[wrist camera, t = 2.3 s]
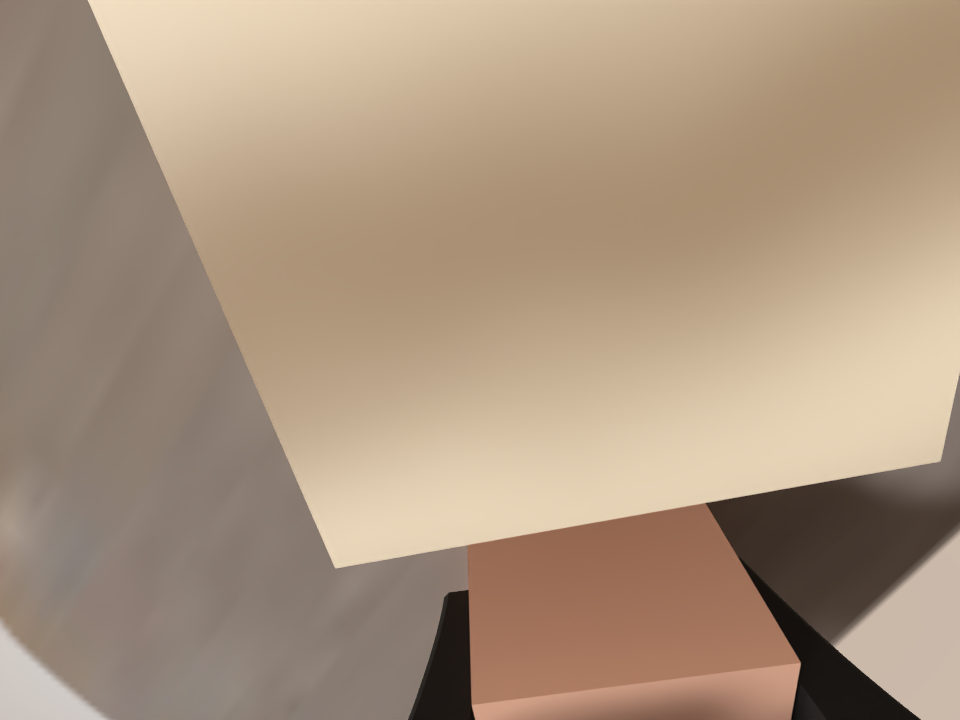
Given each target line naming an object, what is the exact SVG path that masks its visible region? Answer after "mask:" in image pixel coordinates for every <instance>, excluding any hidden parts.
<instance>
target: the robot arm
mask: <svg viewBox="0 0 960 720" xmlns="http://www.w3.org/2000/svg"><path fill="white" fill-rule="evenodd" d="M737 557H738V556H737ZM738 558H739V560H740V562H741V563H742V565H743V567H744V568H745V570H746V572H747V573H748V575H749V577H750V579H751V580H752V582H753V584H754V585H755V587H756V589H757V590H758V592H759V594H760V595H761V597H762V599H763V600H764V602H765V604H766V605H767V607H768V609H769V610H770V612H771V614H772V615H773V617H774V619H775V620H776V622H777V624H778V625H779V627H780V629H781V630H782V632H783V634H784V635H785V637H786V639H787V640H788V642H789V644H790V645H791V647H792V649H793V650H794V652H795V654H796V655H797V657H798V659H799V660H800V662H801V665H800V671H799V676H798V682H797V688H796V693H795V699H794V705H793V710H792V716H791V720H921V719H919V718H918V717H917V716H916V715H914V714H913V713H912V712H910V711H909V710H908V709H907V708H905V707H904V706H903V705H902V704H900V703H899V702H898V701H897V700H895V699H894V698H893V697H892V696H890V695H889V694H888V693H887V692H886V691H884V690H883V689H882V688H881V687H880V686H878V685H877V684H876V683H875V682H874V681H872V680H871V679H870V678H869V677H868V676H866V675H865V674H864V673H863V672H861V670H859V669H858V668H857V667H856V666H855V665H854V664H852V663H851V662H850V661H849V660H848V659H847V658H845V657H844V656H843V655H842V654H841V653H840V652H839V651H838V650H836V649H835V648H834V647H833V646H832V645H831V644H830V643H829V642H828V641H826V640H825V639H824V638H823V637H822V636H821V635H820V634H819V633H818V632H816V631H815V630H814V629H813V628H812V627H811V626H810V625H809V624H808V623H807V622H806V621H804V620H803V619H802V618H801V617H800V616H799V615H798V614H797V613H796V612H795V611H794V610H793V609H792V608H791V607H790V606H789V605H788V604H787V603H785V602H784V601H783V600H782V599H781V598H780V597H779V596H778V595H777V594H776V593H775V592H774V591H773V590H772V589H771V588H770V587H769V586H768V585H767V584H766V583H765V582H764V581H763V580H762V579H761V578H760V577H759V576H758V575H757V574H756V573H755V572H754V571H753V570H752V569H751V568H750V567H749V566H748V565H747V564H746V563H745V562H744V561H743V560H742V559H741V558H740V557H738ZM408 720H475V717H474V713H473V708H472V699H471V659H470V620H469V590H465V591H458V592H450V593H448V594H447V595H446V596H445V597H444V602H443V608H442V613H441V617H440V622H439V626H438V630H437V634H436V637H435V641H434V644H433V648H432V651H431V655H430V658H429V661H428V664H427V667H426V670H425V673H424V676H423V679H422V682H421V685H420V688H419V691H418V694H417V697H416V700H415V703H414V706H413V708H412V711H411V714H410V716H409V719H408Z"/></svg>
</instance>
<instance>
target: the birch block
mask: <svg viewBox="0 0 960 720" xmlns="http://www.w3.org/2000/svg"><path fill="white" fill-rule="evenodd" d="M88 1H89V4H90V6H91V8H92V10H93V13H94V15H95V17H96V20H97V22H98V24H99V26H100V29H101V31H102V33H103V36H104V38H105V40H106V43H107V45H108V47H109V49H110V52H111V54H112V56H113V59H114V61H115V63H116V66H117V68H118V70H119V72H120V75H121V77H122V79H123V82H124V84H125V86H126V89H127V91H128V93H129V95H130V98H131V100H132V102H133V105H134V107H135V109H136V112H137V114H138V116H139V118H140V121H141V123H142V125H143V128H144V130H145V132H146V134H147V137H148V139H149V141H150V144H151V146H152V148H153V151H154V153H155V155H156V157H157V160H158V162H159V164H160V167H161V169H162V171H163V174H164V176H165V178H166V180H167V183H168V185H169V187H170V190H171V192H172V194H173V197H174V199H175V201H176V203H177V206H178V208H179V210H180V213H181V215H182V217H183V219H184V222H185V224H186V226H187V229H188V231H189V233H190V236H191V238H192V240H193V242H194V245H195V247H196V249H197V252H198V254H199V256H200V259H201V261H202V263H203V265H204V268H205V270H206V272H207V275H208V277H209V279H210V282H211V284H212V286H213V288H214V291H215V293H216V295H217V298H218V300H219V302H220V304H221V307H222V309H223V311H224V314H225V316H226V318H227V321H228V323H229V325H230V327H231V330H232V332H233V334H234V337H235V339H236V341H237V344H238V346H239V348H240V350H241V353H242V355H243V357H244V360H245V362H246V364H247V367H248V369H249V371H250V373H251V376H252V378H253V380H254V383H255V385H256V387H257V390H258V392H259V394H260V396H261V399H262V401H263V403H264V406H265V408H266V410H267V412H268V415H269V417H270V419H271V422H272V424H273V426H274V429H275V431H276V433H277V435H278V438H279V440H280V442H281V445H282V447H283V449H284V452H285V454H286V456H287V458H288V461H289V463H290V465H291V468H292V470H293V472H294V475H295V477H296V479H297V481H298V484H299V486H300V488H301V491H302V493H303V495H304V497H305V500H306V502H307V504H308V507H309V509H310V511H311V514H312V516H313V518H314V520H315V523H316V525H317V527H318V530H319V532H320V534H321V537H322V539H323V541H324V543H325V546H326V548H327V550H328V553H329V555H330V557H331V560H332V562H333V564H334V566H335V568H340V567H346V566H352V565H357V564H363V563H369V562H374V561H380V560H386V559H391V558H397V557H403V556H408V555H414V554H420V553H425V552H431V551H437V550H442V549H448V548H453V547H459V546H465V545H470V544H476V543H482V542H487V541H493V540H499V539H504V538H510V537H516V536H521V535H527V534H533V533H538V532H544V531H550V530H555V529H561V528H567V527H572V526H578V525H584V524H589V523H595V522H600V521H606V520H612V519H617V518H623V517H629V516H634V515H640V514H646V513H651V512H657V511H663V510H668V509H674V508H680V507H685V506H691V505H697V504H702V503H708V502H714V501H719V500H725V499H731V498H736V497H742V496H747V495H753V494H759V493H764V492H770V491H776V490H781V489H787V488H793V487H798V486H804V485H810V484H815V483H821V482H827V481H832V480H838V479H844V478H849V477H855V476H861V475H866V474H872V473H878V472H883V471H889V470H894V469H900V468H906V467H911V466H917V465H923V464H928V463H934V462H940V461H941V456H942V452H943V447H944V442H945V438H946V433H947V428H948V424H949V419H950V414H951V410H952V405H953V401H954V396H955V391H956V387H957V382H958V377H959V373H960V0H88Z"/></svg>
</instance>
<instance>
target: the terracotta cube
mask: <svg viewBox="0 0 960 720" xmlns="http://www.w3.org/2000/svg"><path fill="white" fill-rule="evenodd" d="M468 580H469V620H470V659H471V699H472V708H473V713H474V717H475V720H791V716H792V710H793V705H794V699H795V693H796V688H797V682H798V676H799V671H800V665H801V662H800V660H799V659H798V657H797V655H796V654H795V652H794V650H793V649H792V647H791V645H790V644H789V642H788V640H787V639H786V637H785V635H784V634H783V632H782V630H781V629H780V627H779V625H778V624H777V622H776V620H775V619H774V617H773V615H772V614H771V612H770V610H769V609H768V607H767V605H766V604H765V602H764V600H763V599H762V597H761V595H760V594H759V592H758V590H757V589H756V587H755V585H754V584H753V582H752V580H751V579H750V577H749V575H748V573H747V572H746V570H745V568H744V567H743V565H742V563H741V562H740V560H739V558H738V557H737V555H736V553H735V552H734V550H733V548H732V547H731V545H730V543H729V542H728V540H727V538H726V537H725V535H724V533H723V532H722V530H721V528H720V527H719V525H718V523H717V522H716V520H715V518H714V517H713V515H712V513H711V512H710V510H709V508H708V507H707V505H706V503H702V504H697V505H691V506H685V507H680V508H674V509H668V510H663V511H657V512H651V513H646V514H640V515H634V516H629V517H623V518H617V519H612V520H606V521H600V522H595V523H589V524H584V525H578V526H572V527H567V528H561V529H555V530H550V531H544V532H538V533H533V534H527V535H521V536H516V537H510V538H504V539H499V540H493V541H487V542H482V543H476V544H470V545H468Z"/></svg>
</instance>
